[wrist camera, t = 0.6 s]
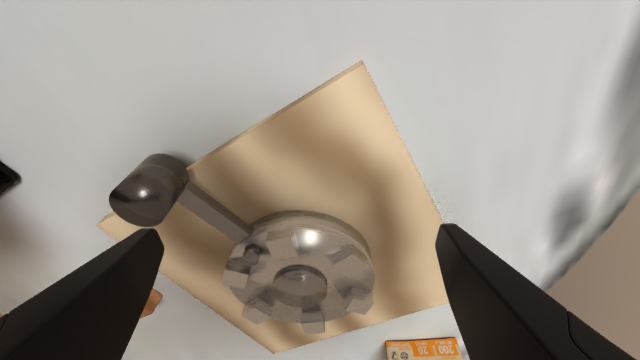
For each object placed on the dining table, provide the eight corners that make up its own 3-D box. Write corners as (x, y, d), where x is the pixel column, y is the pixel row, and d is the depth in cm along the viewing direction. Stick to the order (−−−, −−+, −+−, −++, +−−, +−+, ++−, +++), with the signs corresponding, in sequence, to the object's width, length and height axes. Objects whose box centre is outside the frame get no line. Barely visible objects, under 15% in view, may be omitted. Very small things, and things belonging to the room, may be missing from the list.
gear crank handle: (398, 268, 25) (410, 316, 22) (299, 317, 30) (296, 363, 26) (206, 93, 17) (173, 123, 13) (110, 198, 22) (66, 241, 18)
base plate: (236, 357, 37) (231, 374, 36) (61, 243, 26) (43, 261, 24) (474, 284, 28) (483, 303, 26) (362, 59, 17) (366, 68, 15)
